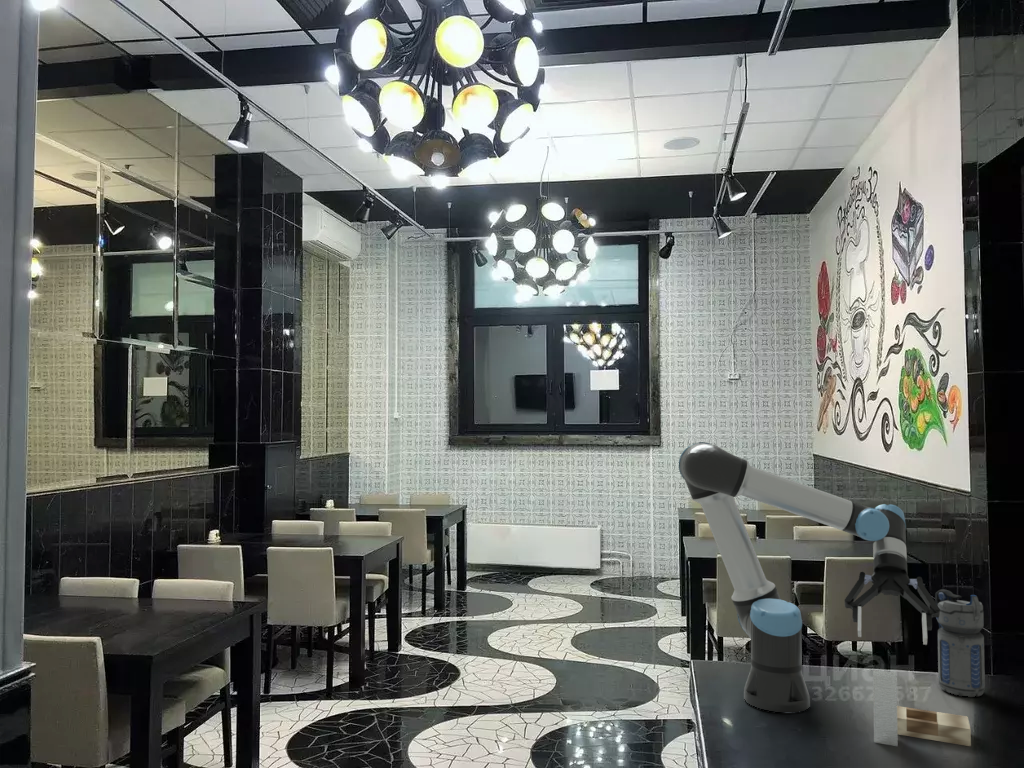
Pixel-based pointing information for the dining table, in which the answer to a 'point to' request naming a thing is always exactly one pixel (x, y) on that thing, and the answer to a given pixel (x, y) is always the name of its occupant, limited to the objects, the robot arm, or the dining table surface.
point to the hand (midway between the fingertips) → (891, 637)
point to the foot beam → (933, 725)
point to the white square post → (885, 707)
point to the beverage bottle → (960, 645)
